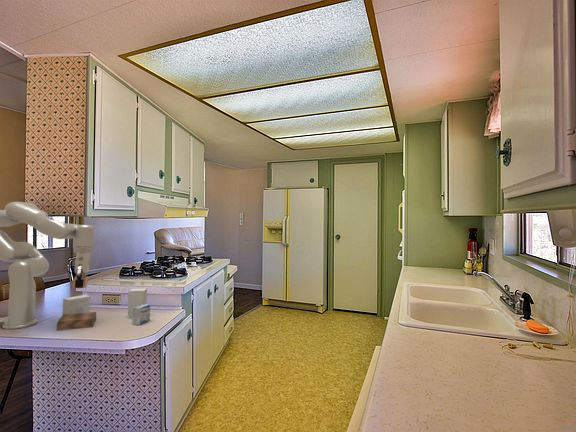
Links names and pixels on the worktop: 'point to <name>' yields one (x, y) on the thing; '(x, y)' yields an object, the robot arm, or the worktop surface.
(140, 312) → the medicine box
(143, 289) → the skincare box
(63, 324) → the walnut stand
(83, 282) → the terracotta cube
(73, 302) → the skincare box
